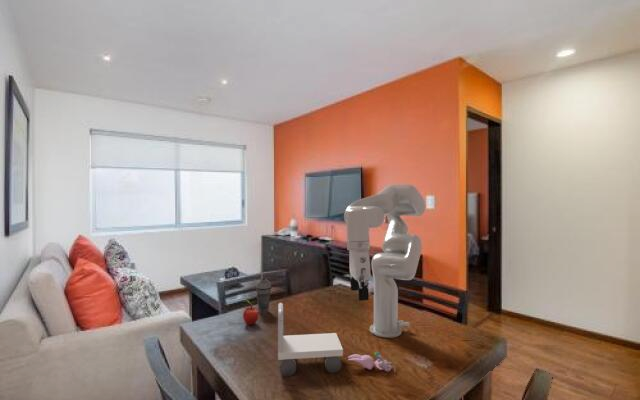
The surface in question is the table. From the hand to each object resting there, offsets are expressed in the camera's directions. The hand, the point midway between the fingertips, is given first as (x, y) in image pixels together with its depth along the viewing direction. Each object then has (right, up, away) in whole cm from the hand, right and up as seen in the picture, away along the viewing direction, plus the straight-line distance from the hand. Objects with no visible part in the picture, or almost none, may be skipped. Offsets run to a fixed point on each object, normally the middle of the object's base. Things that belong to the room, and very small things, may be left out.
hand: (359, 294), depth 107 cm
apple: (-43, -21, +27) cm, 55 cm away
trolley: (-17, -21, -5) cm, 27 cm away
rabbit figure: (+3, -22, -7) cm, 23 cm away
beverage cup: (-40, -21, +42) cm, 61 cm away
